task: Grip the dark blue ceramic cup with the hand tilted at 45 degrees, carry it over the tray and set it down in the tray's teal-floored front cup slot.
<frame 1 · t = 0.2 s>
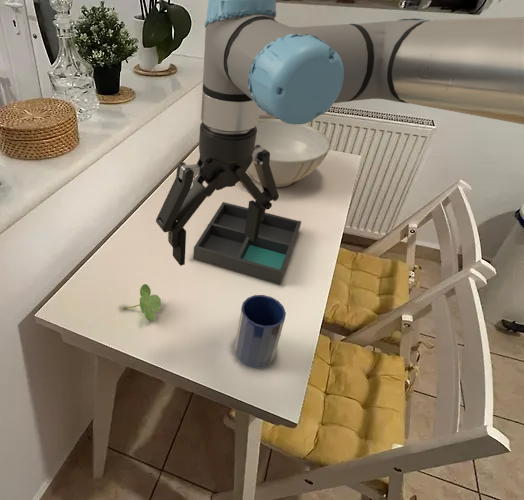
hand: (215, 248, 70), 20 cm above the table, tool pointing down, fingers open, 13 cm apart
cup: (254, 351, 78), on the table
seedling: (144, 309, 86), on the table
decorative bowl: (273, 176, 127), on the table
tray: (247, 245, 102), on the table
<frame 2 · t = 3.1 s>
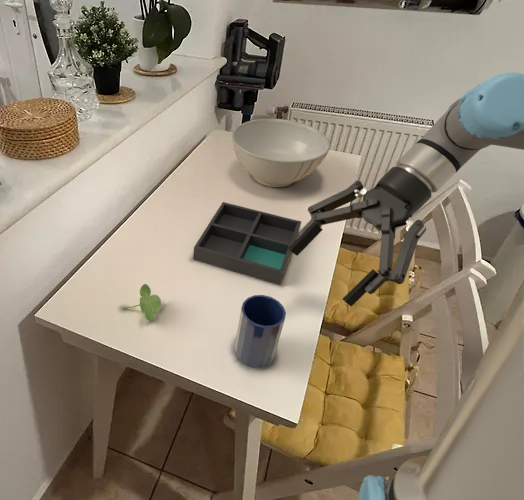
hand: (317, 276, 73), 15 cm above the table, tool tilted 45°, fingers open, 13 cm apart
nothing on the table moved.
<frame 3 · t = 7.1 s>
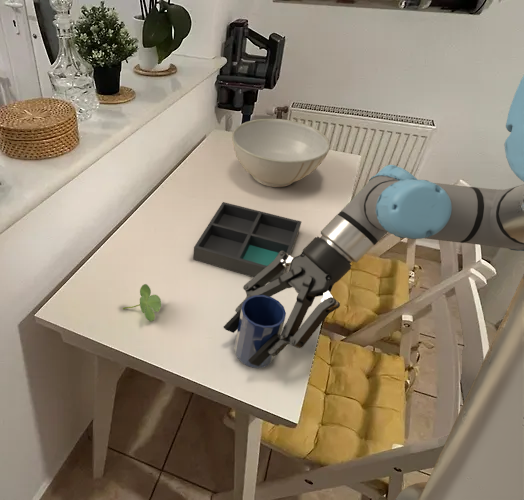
hand: (240, 345, 75), 4 cm above the table, tool tilted 45°, fingers closed on cup, 7 cm apart
cup: (254, 351, 78), on the table, touching gripper
everything else where it was.
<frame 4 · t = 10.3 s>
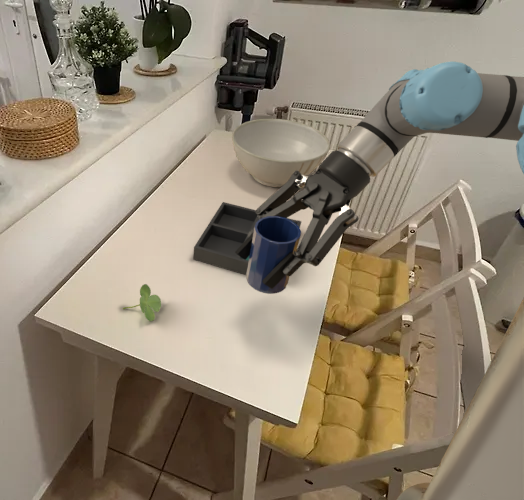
hand: (253, 269, 72), 16 cm above the table, tool tilted 45°, fingers closed on cup, 7 cm apart
cup: (266, 279, 75), point 12 cm above the table, touching gripper
everything else where it was.
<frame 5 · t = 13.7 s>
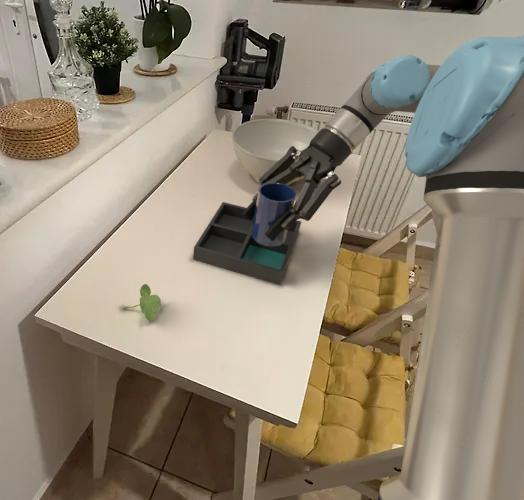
hand: (257, 226, 88), 12 cm above the table, tool tilted 45°, fingers closed on cup, 7 cm apart
cup: (268, 235, 92), point 8 cm above the table, touching gripper
everything else where it was.
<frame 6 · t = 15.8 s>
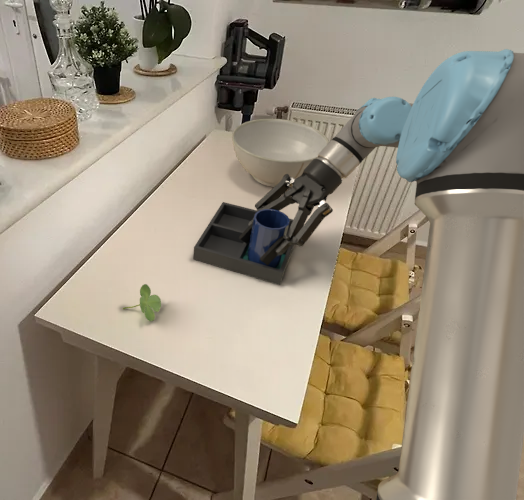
hand: (252, 251, 92), 5 cm above the table, tool tilted 45°, fingers closed on cup, 7 cm apart
cup: (263, 258, 96), point 2 cm above the table, touching gripper
everything else where it was.
when the fingers open (5 cm above the table, at t = 20.7 s): cup stays where it is, resting on tray.
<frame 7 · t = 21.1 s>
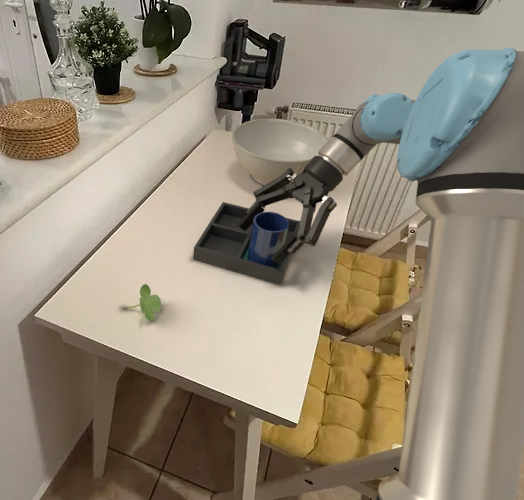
hand: (257, 244, 92), 7 cm above the table, tool tilted 45°, fingers open, 12 cm apart
cup: (263, 261, 96), point 1 cm above the table, touching tray
everything else where it was.
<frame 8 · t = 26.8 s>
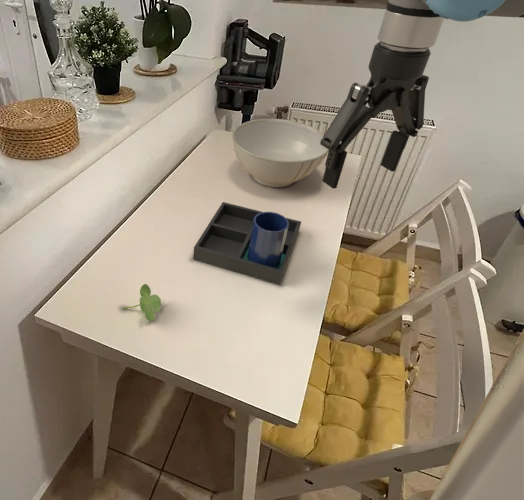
hand: (359, 176, 75), 27 cm above the table, tool pointing down, fingers open, 13 cm apart
nothing on the table moved.
at the end: cup 0.0 cm from the target spot in the tray, point 0.8 cm above the tray's base; cup tilted 0°; the gripper is holding nothing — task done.
